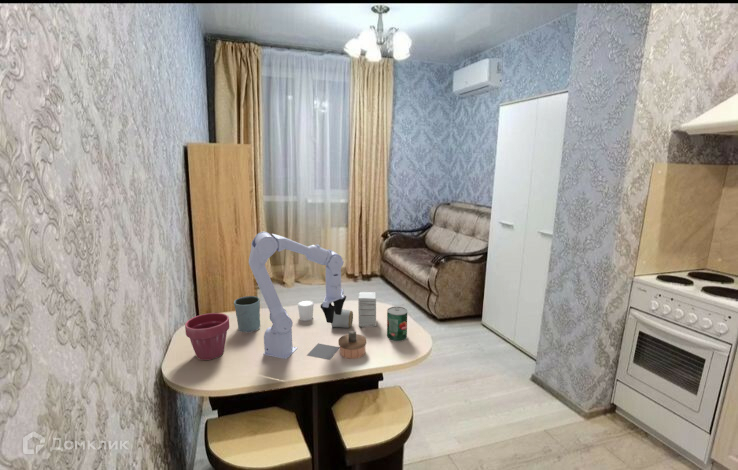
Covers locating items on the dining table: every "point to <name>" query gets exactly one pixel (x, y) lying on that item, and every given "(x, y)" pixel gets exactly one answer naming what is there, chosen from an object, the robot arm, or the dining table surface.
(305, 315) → the shot glass
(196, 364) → the dining table surface
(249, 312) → the teal cup
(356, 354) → the terracotta bowl
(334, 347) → the charcoal mat
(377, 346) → the dining table surface
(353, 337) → the walnut lid
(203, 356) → the plant pot
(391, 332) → the canned tomato
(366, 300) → the supplement box
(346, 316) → the ceramic mug
